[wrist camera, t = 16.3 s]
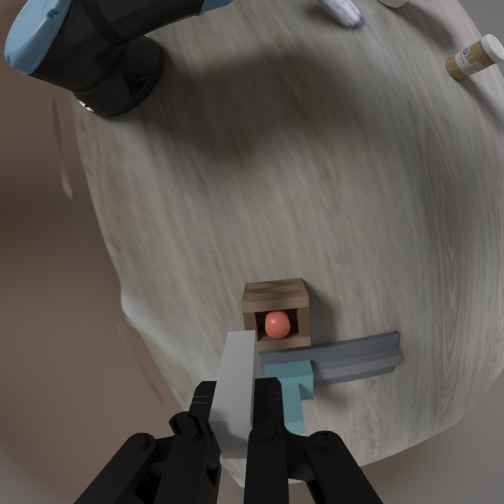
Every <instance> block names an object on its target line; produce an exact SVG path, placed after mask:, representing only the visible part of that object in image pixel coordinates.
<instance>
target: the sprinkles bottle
mask: <svg viewBox="0 0 504 504" xmlns="http://www.w3.org/2000/svg"><path fill="white" fill-rule="evenodd" d="M503 61H504V48H503V46H502V44H501V43H500V42H499V41H498V40H497V39H496V38H495V37H494V36H493V35H490V34H488V35H486V36H484V37H482V38H481V40H480V41H478V42H476V43H475V44H473V45H471V46H470V47H467V48H465V49H464V50H462V51H460V52H459V53H457V54H456V55H455V56H453V57H451V58H448V59H447V60H446V63H445V64H446V68H447V70H448V72H449V73H450V75H451V76H452V77H454V78H455V79H457V80H462V79H463V78H465V77H467V76H469V75H472V74H474V73H476V72H478V71H481V70H483V69H485V68H487V67H489V66H491V65H493V64H495V63H500V62H503Z"/></svg>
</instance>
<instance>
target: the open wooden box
mask: <svg viewBox="0 0 504 504" xmlns="http://www.w3.org/2000/svg"><path fill="white" fill-rule="evenodd" d="M241 303H242V310H243V317H244V324H245V331H249V330H255V332H256V339H257V346H258V351H263V350H275V349H285V348H294V347H303V346H311V341H310V313H309V295H308V293H307V290H306V288H305V285H304V283H303V280H302V278H296V279H287V280H278V281H268V282H258V283H247V284H245V288H244V293H243V298H242V302H241ZM283 309H287V311H288V317H289V323H290V331H289V333H288V334H287V335H286V336H284V337H282V338H272V337H270V336H269V335H268V334H267V333H266V330H265V311H273V310H283Z"/></svg>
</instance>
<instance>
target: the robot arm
mask: <svg viewBox="0 0 504 504" xmlns="http://www.w3.org/2000/svg"><path fill="white" fill-rule="evenodd" d="M232 1H233V0H28V2H27V3H26V4H25V6H24V7H23V9H22V10H21V11H20V13H19V14H18V16H17V18H16V19H15V21H14V23H13V25H12V27H11V29H10V32H9V34H8V37H7V40H6V44H5V59H6V62H7V63H8V64H9V65H10V66H11V67H13V68H15V69H17V70H19V71H21V72H22V73H23V74H25V75H29V76H32V77H35V78H38V79H40V80H43V81H46V82H49V83H52V84H54V85H57V86H60V87H62V88H65V89H67V90H70V91H72V93H73V94H74V95H75V97H76V98H77V99H78V100H79V102H80V103H81V104H82V106H83V107H84V108H85V109H87V110H88V111H90V112H92V113H94V114H97V115H100V116H105V117H111V116H117V115H120V114H123V113H125V112H127V111H129V110H131V109H133V108H134V107H136V106H137V105H138V104H140V103H141V102H142V101H143V100H144V99H145V98H146V97H147V96H148V95H149V94H150V92H151V91H152V90H153V88H154V87H155V85H156V84H157V82H158V80H159V77H160V75H161V72H162V68H163V54H162V51H161V49H160V47H159V46H158V45H157V43H156V42H155V41H154V40H153V39H152V38H151V37H150V36H148V35H147V34H146V33H149V32H151V31H154V30H156V29H158V28H161V27H163V26H166V25H169V24H171V23H174V22H177V21H180V20H182V19H185V18H188V17H191V16H199V15H202V14H203V13H204V12H206V11H210V10H213V9H216V8H219V7H223V6H226V5H228V4H230V3H231V2H232ZM260 377H261V367H260V360H259V353H258V346H257V339H256V332H255V330H249V331H236V332H228V335H227V339H226V344H225V348H224V353H223V357H222V362H221V366H220V371H219V375H218V380H217V381H202V382H201V383H200V384H199V385H198V386H197V387H196V389H195V393H194V397H193V399H192V403H191V406H190V409H189V411H185V412H180V413H178V414H176V415H174V416H173V417H172V418H171V419H170V421H169V424H170V426H171V428H172V430H173V432H174V434H175V435H173V436H171V437H166V438H159V439H155V438H154V437H153V436H152V435H150V434H148V433H137V434H134V435H132V436H131V437H130V438H128V440H127V441H126V442H125V443H124V444H123V446H122V447H121V448H120V449H119V450H118V452H117V453H116V454H115V455H114V456H113V458H112V459H111V460H110V461H109V462H108V464H107V465H106V466H105V467H104V468H103V470H102V471H101V472H100V473H99V474H98V476H97V477H96V478H95V479H94V480H93V482H92V483H91V484H90V485H89V486H88V488H87V489H86V490H85V491H84V492H83V493H82V494H81V496H80V497H79V498H78V499H77V500H76V501H75V503H74V504H217V497H218V490H219V483H220V476H221V464H220V461H219V460H220V453H221V455H222V457H223V458H247V464H246V478H245V491H244V504H289V488H288V478H290V479H296V480H302V481H305V482H306V484H307V486H308V489H309V491H310V493H311V495H312V498H313V500H314V502H315V504H383V503H382V501H381V500H380V498H379V497H378V495H377V494H376V492H375V490H374V489H373V487H372V486H371V484H370V483H369V481H368V480H367V478H366V477H365V475H364V474H363V472H362V470H361V469H360V467H359V466H358V464H357V463H356V461H355V460H354V458H353V456H352V455H351V453H350V452H349V450H348V448H347V447H346V445H345V444H344V442H343V441H342V439H341V437H340V436H339V435H338V434H336V433H334V432H332V431H324V430H323V431H318V432H315V433H313V434H311V435H310V436H309V437H307V436H300V435H296V434H293V433H291V432H290V431H289V430H287V428H286V427H285V422H284V408H283V396H282V385H281V382H280V381H279V380H278V378H277V377H269V378H260Z"/></svg>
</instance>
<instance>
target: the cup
mask: <svg viewBox="0 0 504 504" xmlns="http://www.w3.org/2000/svg"><path fill="white" fill-rule="evenodd" d="M378 1H380V2H381V3H383V4H385V5H387V6H390V7H395V8H397V7H401V6H402V5H403V4H405V3H406V2H407V1H409V0H378Z"/></svg>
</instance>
